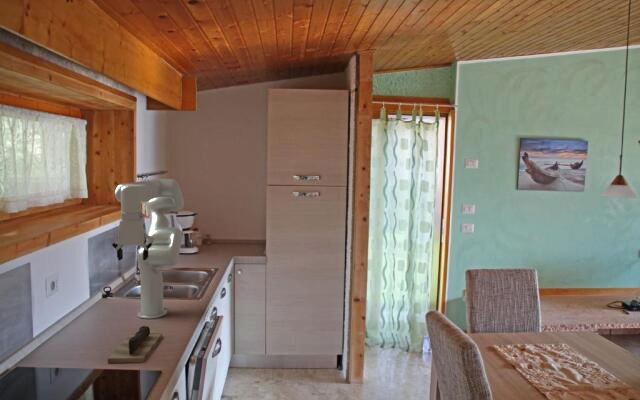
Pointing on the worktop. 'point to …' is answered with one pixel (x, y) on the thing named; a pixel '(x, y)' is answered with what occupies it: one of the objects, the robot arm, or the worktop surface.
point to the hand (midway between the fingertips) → (132, 259)
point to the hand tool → (138, 338)
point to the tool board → (138, 355)
